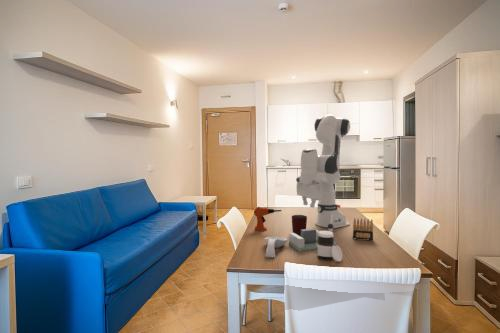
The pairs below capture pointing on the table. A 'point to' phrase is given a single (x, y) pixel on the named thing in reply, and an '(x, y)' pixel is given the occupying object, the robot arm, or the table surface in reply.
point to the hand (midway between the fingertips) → (308, 206)
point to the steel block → (308, 235)
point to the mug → (298, 223)
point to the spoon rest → (273, 245)
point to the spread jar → (328, 246)
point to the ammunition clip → (363, 229)
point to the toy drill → (260, 219)
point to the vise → (301, 243)
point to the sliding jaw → (330, 228)
